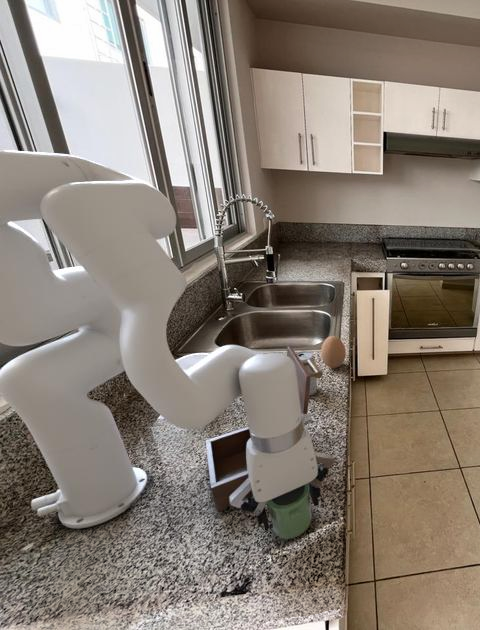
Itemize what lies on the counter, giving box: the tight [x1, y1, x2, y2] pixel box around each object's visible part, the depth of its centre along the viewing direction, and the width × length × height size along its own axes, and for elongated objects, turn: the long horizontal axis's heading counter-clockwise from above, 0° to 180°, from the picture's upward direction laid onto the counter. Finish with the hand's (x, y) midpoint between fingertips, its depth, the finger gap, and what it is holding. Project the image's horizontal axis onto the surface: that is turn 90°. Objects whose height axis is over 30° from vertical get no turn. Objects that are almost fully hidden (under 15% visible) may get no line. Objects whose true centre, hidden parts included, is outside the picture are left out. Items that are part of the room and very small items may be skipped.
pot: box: [266, 483, 313, 540], centre depth 59 cm, size 7×9×8 cm
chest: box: [205, 426, 253, 512], centre depth 70 cm, size 16×14×6 cm
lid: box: [286, 345, 324, 426], centre depth 72 cm, size 17×14×5 cm
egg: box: [320, 335, 347, 369], centre depth 109 cm, size 8×8×11 cm
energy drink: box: [296, 350, 318, 396], centre depth 95 cm, size 5×5×12 cm
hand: (290, 510), depth 60 cm, fingers open, 7 cm apart
